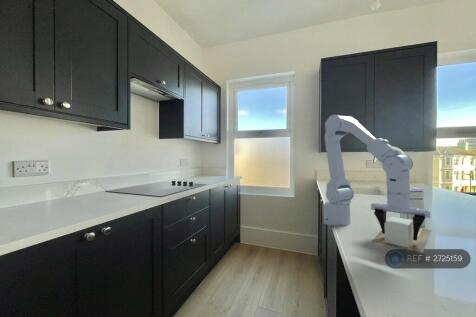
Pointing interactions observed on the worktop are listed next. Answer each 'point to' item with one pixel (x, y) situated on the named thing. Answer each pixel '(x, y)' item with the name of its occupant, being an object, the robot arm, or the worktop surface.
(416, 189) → the syrup box
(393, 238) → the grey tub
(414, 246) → the walnut board
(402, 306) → the worktop surface
